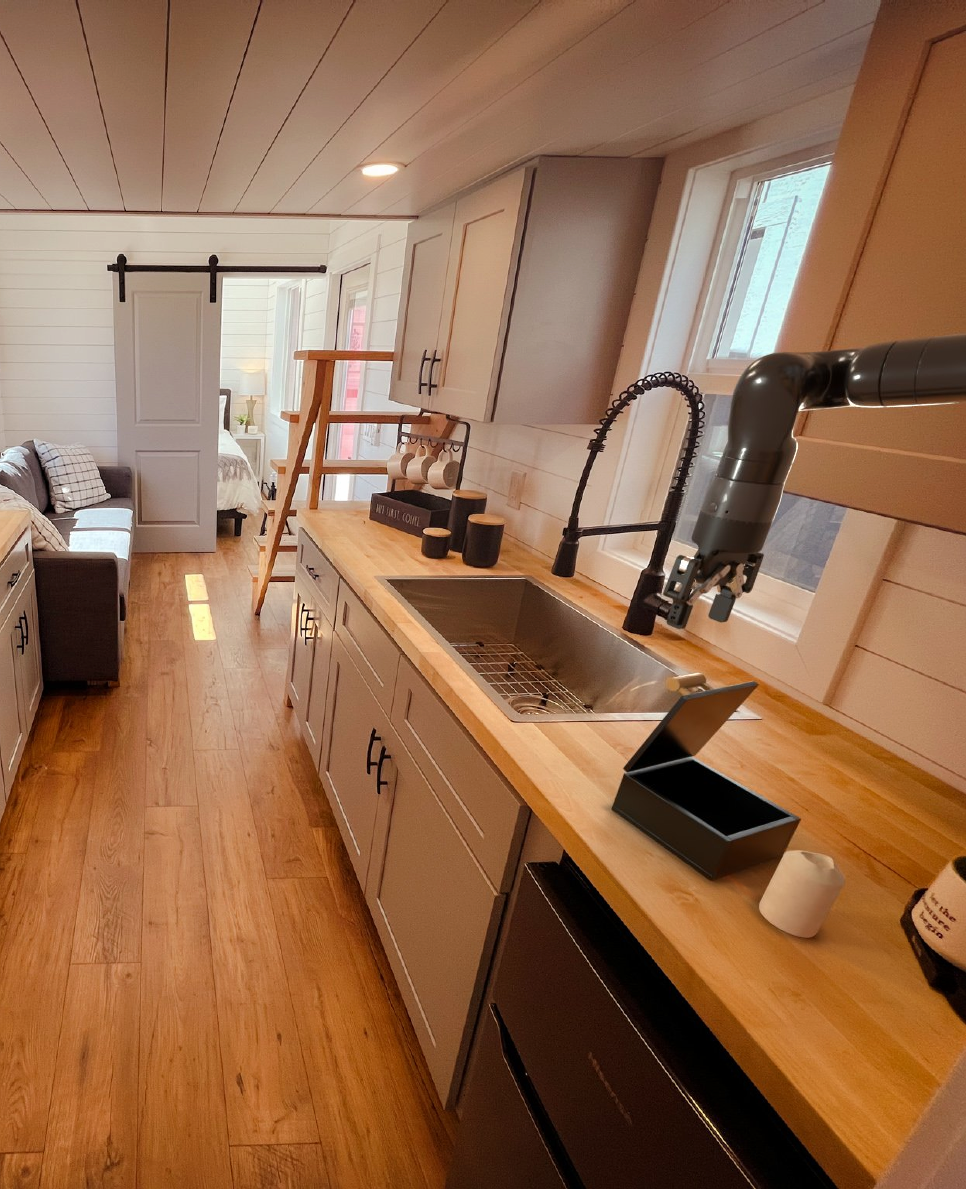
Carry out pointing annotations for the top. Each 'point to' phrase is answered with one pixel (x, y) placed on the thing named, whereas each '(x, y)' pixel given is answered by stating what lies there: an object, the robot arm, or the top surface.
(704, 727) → the bin lid
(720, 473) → the robot arm
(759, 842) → the bread bin
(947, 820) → the top surface
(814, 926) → the candle
